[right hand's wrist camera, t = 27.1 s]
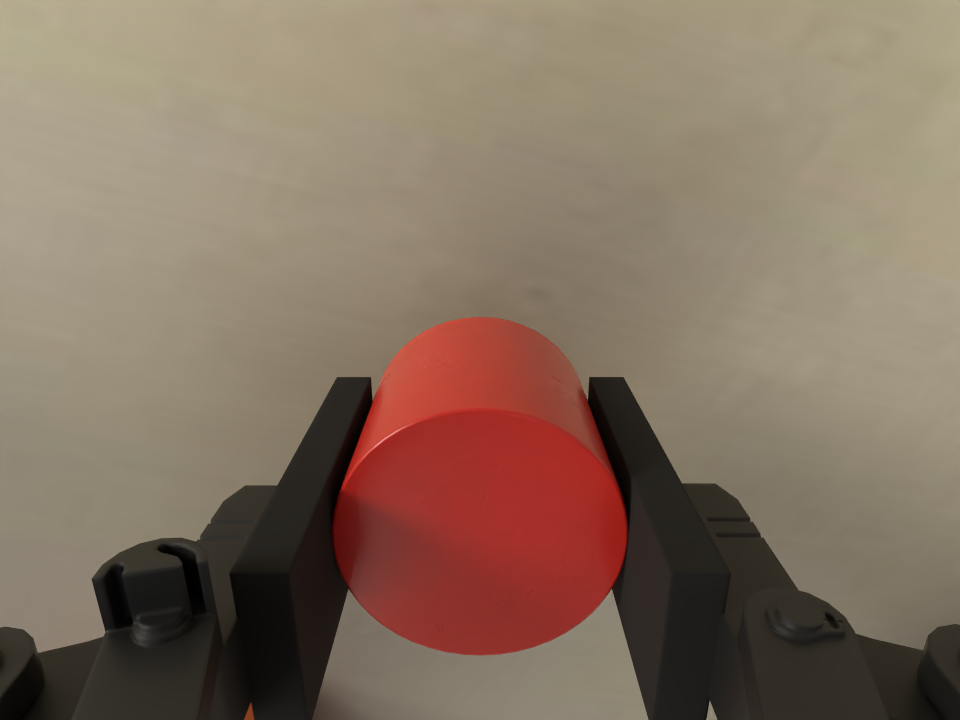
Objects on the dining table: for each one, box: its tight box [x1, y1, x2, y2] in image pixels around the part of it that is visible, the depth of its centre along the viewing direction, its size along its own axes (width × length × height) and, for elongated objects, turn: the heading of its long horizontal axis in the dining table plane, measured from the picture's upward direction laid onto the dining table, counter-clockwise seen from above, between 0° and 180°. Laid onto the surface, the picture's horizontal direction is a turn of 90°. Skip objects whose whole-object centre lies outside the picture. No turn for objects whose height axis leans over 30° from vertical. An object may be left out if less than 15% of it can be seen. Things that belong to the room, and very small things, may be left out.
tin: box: [332, 317, 628, 655], centre depth 13 cm, size 5×5×5 cm
